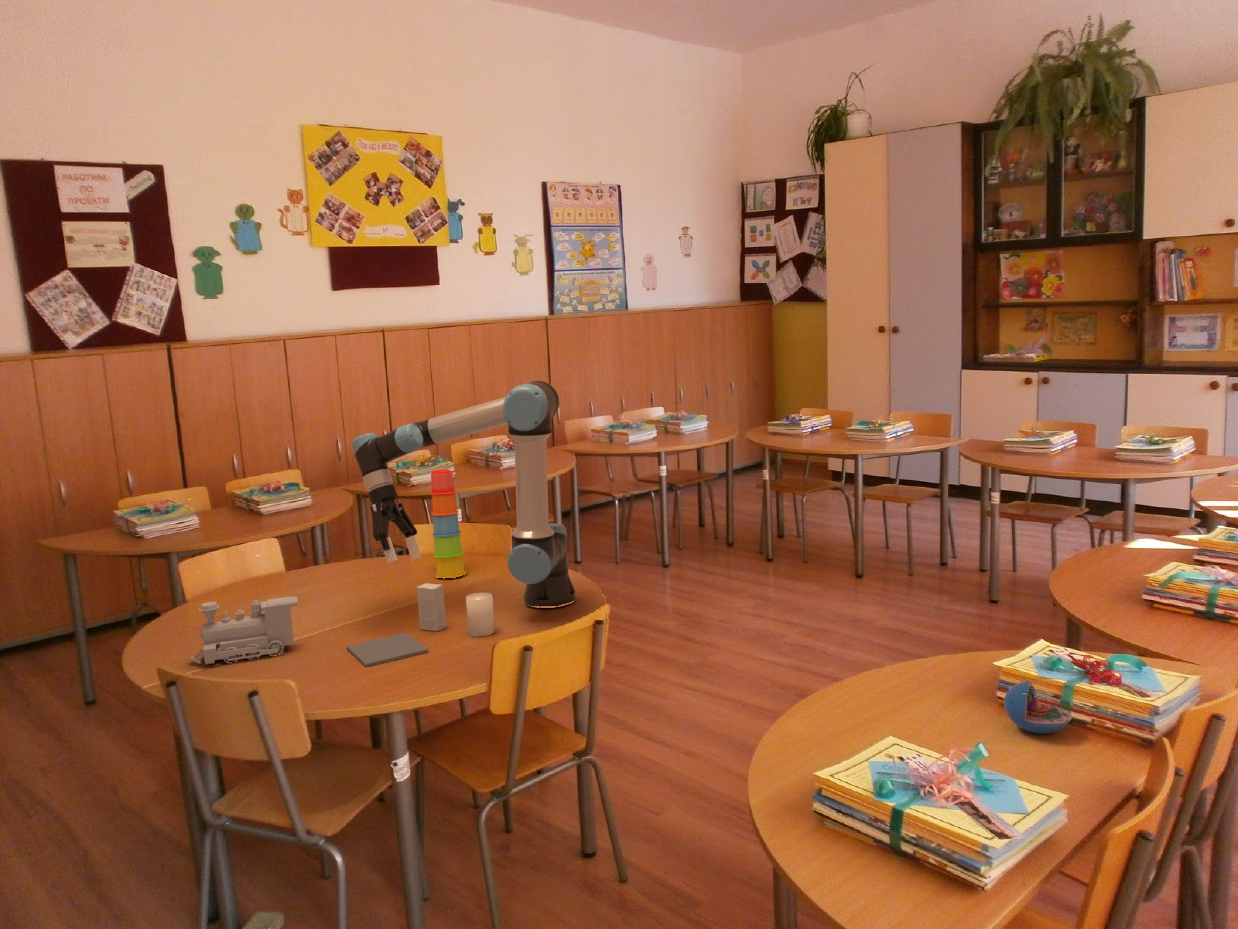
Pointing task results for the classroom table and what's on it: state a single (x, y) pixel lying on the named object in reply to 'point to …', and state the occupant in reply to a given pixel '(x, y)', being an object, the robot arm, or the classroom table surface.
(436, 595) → the skincare box
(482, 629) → the white pillar candle
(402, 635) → the felt mat
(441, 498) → the stacking cups
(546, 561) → the robot arm
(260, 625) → the toy train
